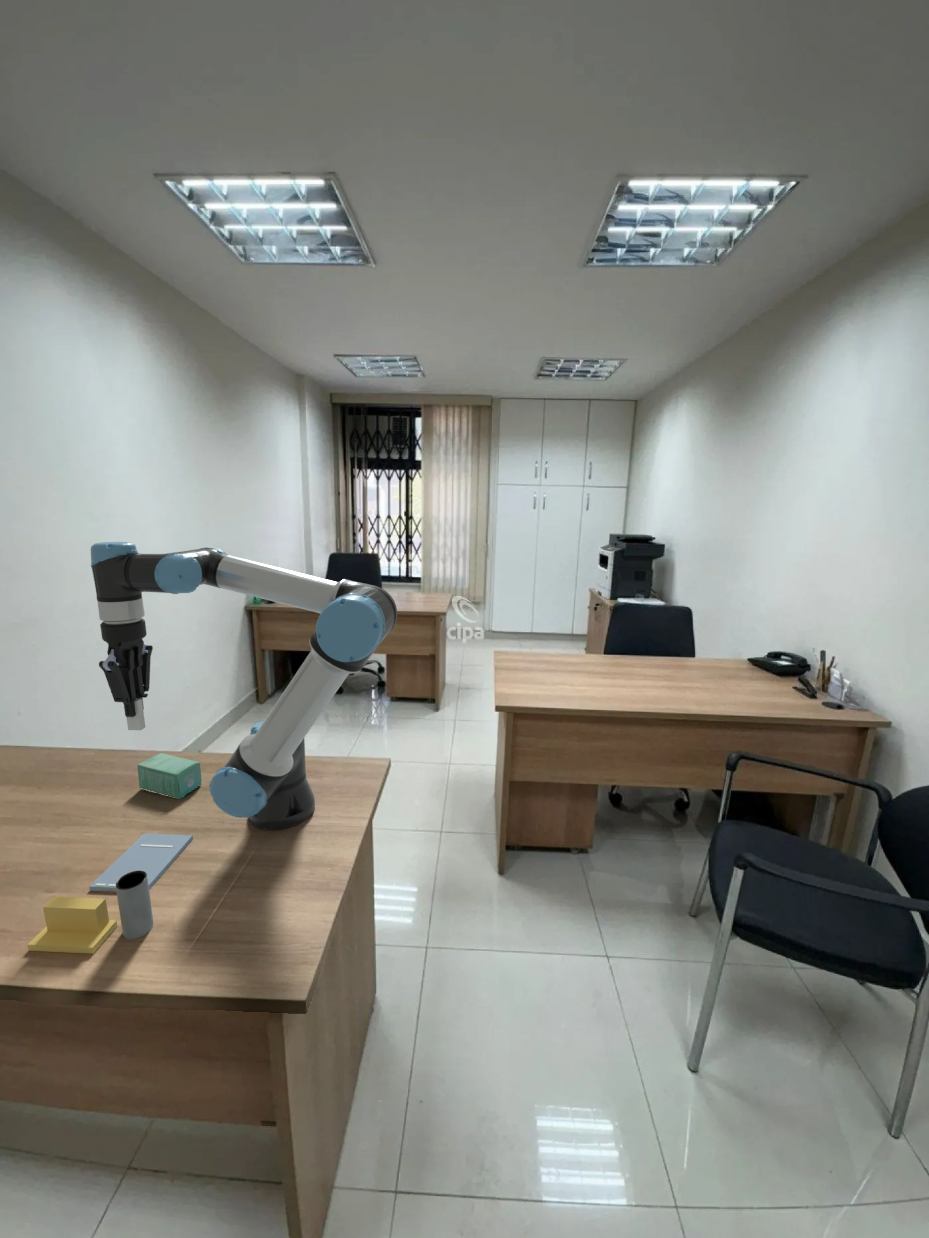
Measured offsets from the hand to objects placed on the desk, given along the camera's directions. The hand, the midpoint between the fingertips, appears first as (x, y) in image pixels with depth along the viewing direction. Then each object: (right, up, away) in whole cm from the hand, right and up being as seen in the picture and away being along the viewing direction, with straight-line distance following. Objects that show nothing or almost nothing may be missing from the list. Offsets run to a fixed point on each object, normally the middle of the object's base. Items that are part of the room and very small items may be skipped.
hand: (136, 728), depth 106 cm
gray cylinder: (+12, -32, -18) cm, 38 cm away
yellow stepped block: (+3, -31, -20) cm, 37 cm away
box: (-7, -22, +26) cm, 34 cm away
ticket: (+3, -28, -2) cm, 28 cm away
